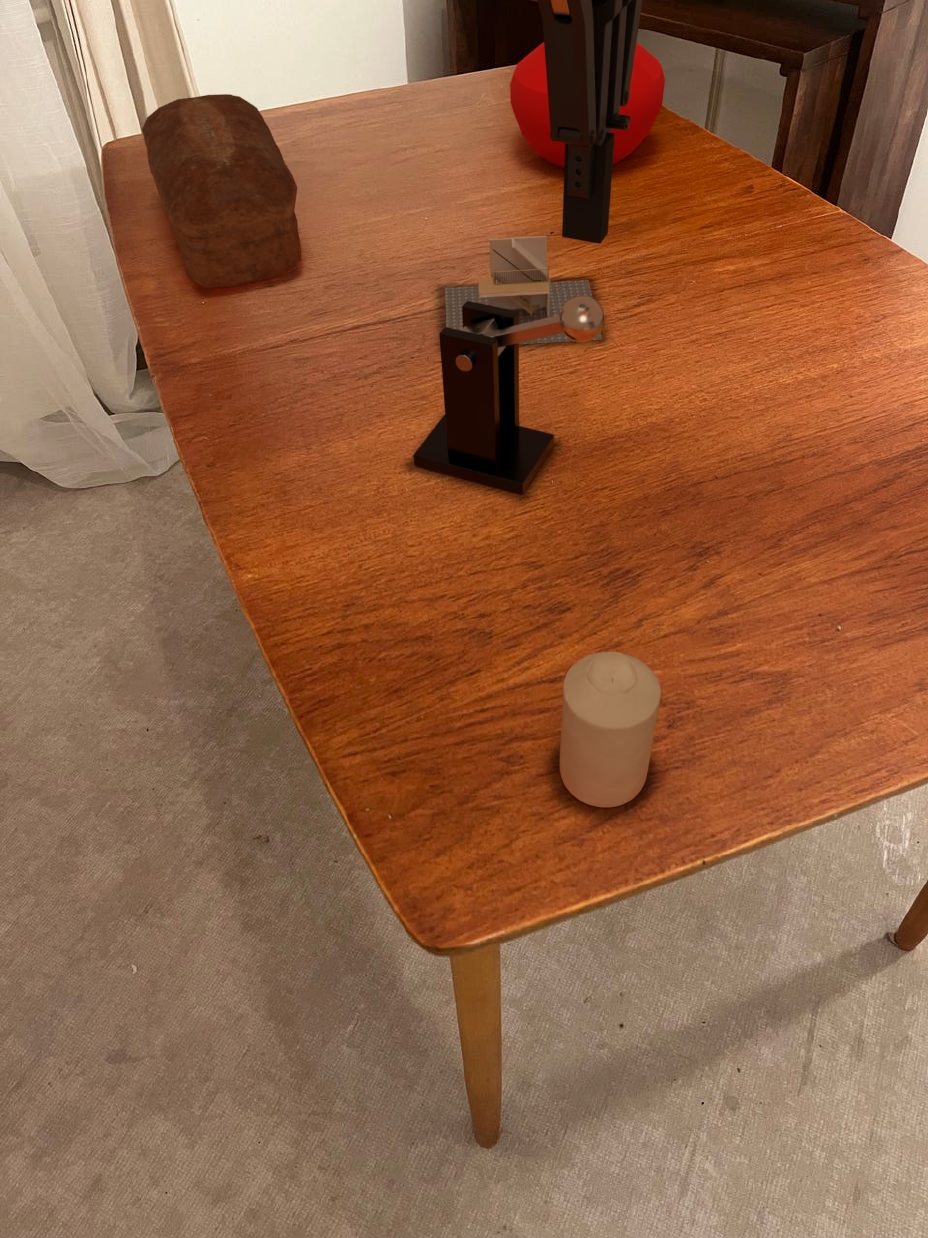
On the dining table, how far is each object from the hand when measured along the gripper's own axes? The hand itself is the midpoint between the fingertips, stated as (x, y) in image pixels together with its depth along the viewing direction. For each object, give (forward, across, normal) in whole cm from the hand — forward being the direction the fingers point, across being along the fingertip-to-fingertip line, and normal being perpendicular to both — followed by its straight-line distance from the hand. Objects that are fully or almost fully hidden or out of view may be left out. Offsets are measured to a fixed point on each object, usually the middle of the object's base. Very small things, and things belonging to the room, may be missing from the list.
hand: (584, 234), depth 66 cm
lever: (+10, 0, -3) cm, 10 cm away
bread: (+22, -25, -51) cm, 61 cm away
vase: (+22, -59, -21) cm, 66 cm away
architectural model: (+21, -22, -14) cm, 34 cm away
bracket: (+21, 0, -8) cm, 23 cm away
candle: (+21, +26, +12) cm, 36 cm away
